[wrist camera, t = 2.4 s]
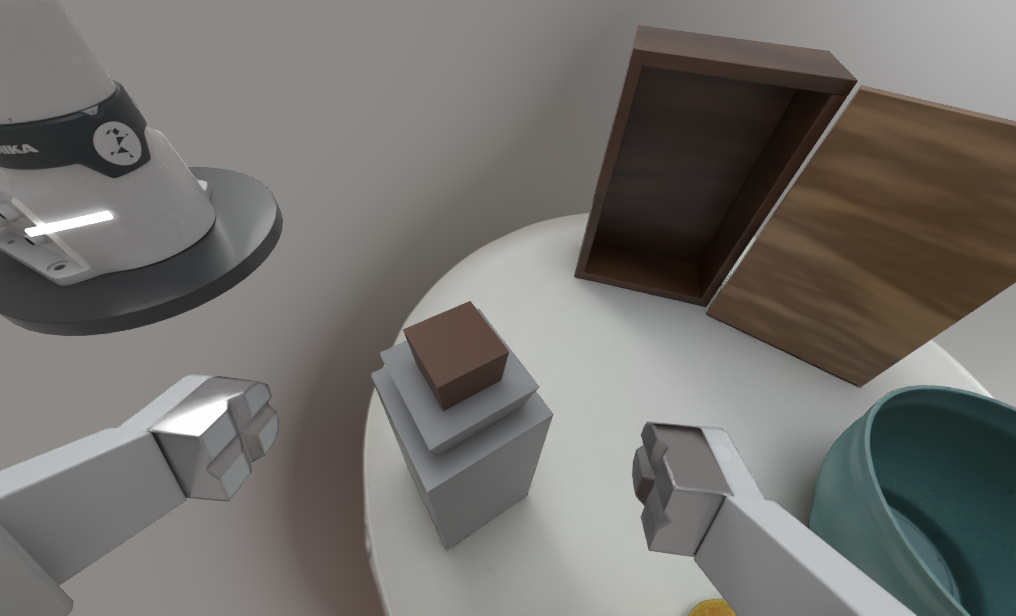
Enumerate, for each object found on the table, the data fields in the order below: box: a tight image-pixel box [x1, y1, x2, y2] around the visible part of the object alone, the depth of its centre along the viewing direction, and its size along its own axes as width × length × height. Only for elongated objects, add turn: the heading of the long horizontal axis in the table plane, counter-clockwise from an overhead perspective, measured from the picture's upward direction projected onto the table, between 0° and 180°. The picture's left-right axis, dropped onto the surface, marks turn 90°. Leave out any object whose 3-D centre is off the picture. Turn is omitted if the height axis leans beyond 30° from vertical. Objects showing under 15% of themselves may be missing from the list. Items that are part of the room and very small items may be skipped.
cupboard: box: [574, 25, 858, 307], centre depth 38 cm, size 7×15×23 cm, turn 75°
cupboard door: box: [706, 85, 1016, 387], centre depth 33 cm, size 6×15×23 cm, turn 55°
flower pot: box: [809, 385, 1016, 616], centre depth 23 cm, size 16×16×11 cm
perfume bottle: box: [371, 301, 553, 551], centre depth 23 cm, size 7×7×18 cm
